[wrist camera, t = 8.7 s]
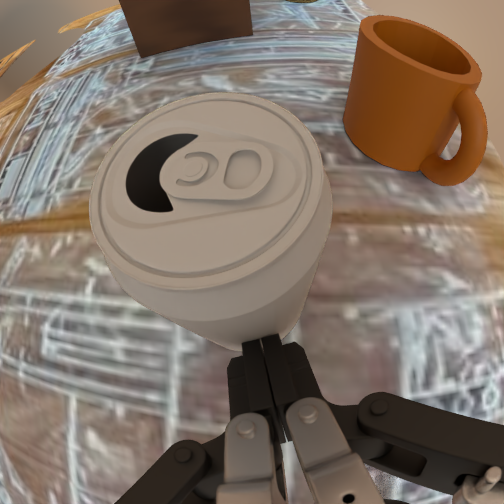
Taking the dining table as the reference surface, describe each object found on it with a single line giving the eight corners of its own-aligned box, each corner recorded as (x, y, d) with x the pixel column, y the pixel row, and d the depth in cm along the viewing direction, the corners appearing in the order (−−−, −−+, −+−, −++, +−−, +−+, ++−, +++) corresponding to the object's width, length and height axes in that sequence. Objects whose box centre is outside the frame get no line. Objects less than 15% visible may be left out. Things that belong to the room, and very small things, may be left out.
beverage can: (206, 241, 19) (129, 88, 8) (309, 253, 18) (339, 88, 7) (184, 341, 17) (40, 278, 6) (296, 360, 16) (332, 332, 5)
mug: (377, 215, 19) (425, 116, 11) (329, 99, 24) (338, 10, 15) (473, 203, 19) (532, 128, 10) (414, 99, 23) (438, 24, 15)
